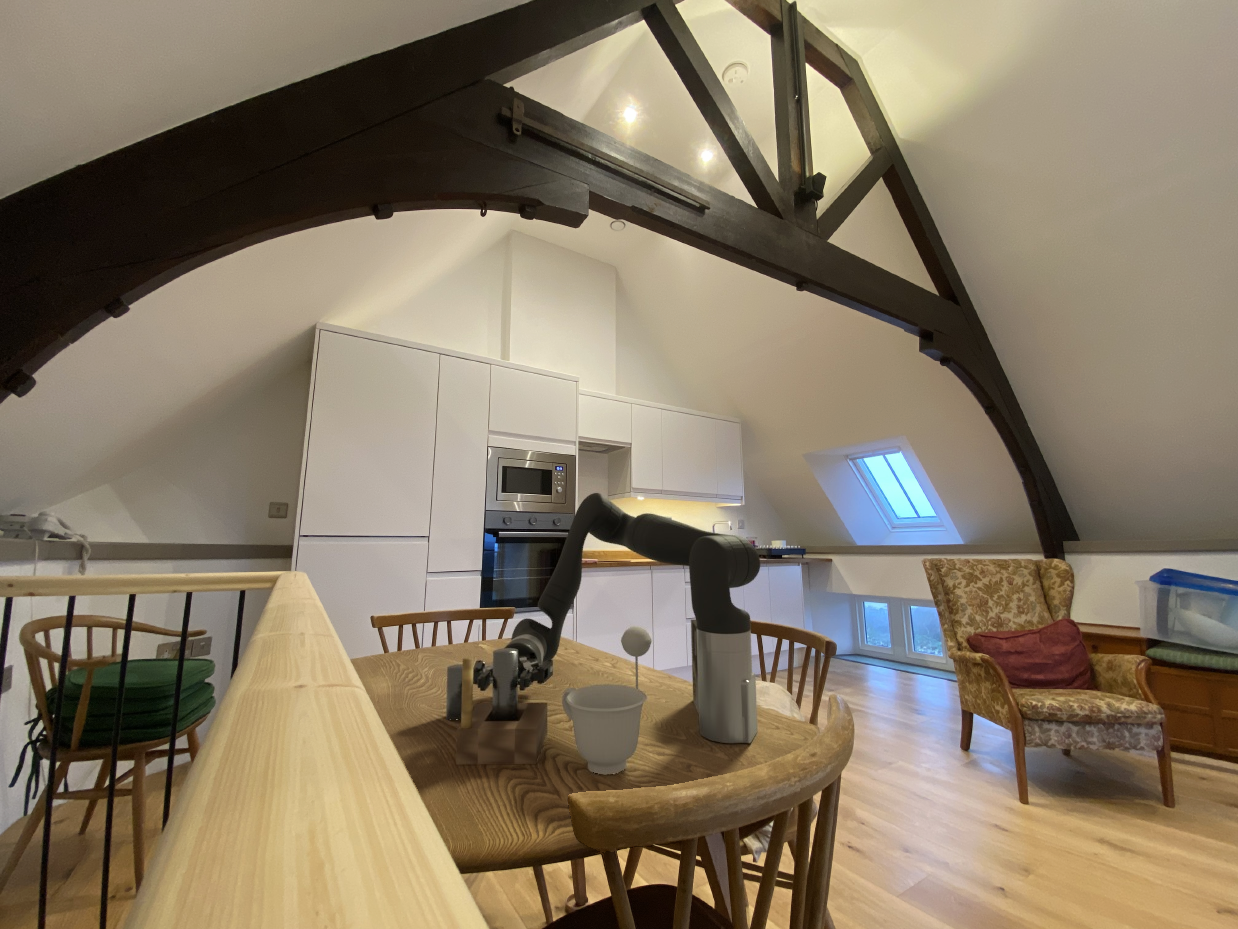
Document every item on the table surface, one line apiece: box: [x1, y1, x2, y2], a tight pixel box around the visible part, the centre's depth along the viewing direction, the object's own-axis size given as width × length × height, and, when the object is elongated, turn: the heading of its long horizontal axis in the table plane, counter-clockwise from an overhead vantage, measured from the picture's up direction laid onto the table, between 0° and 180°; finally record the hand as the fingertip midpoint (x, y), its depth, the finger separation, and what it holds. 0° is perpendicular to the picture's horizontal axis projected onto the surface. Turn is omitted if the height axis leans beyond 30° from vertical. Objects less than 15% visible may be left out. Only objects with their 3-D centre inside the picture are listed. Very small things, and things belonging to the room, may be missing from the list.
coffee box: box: [690, 619, 699, 715], centre depth 105 cm, size 9×6×16 cm
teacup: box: [561, 683, 648, 775], centre depth 80 cm, size 12×15×10 cm
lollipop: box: [620, 625, 653, 689], centre depth 107 cm, size 6×6×15 cm
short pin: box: [445, 663, 463, 721], centre depth 101 cm, size 4×4×9 cm
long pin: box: [491, 647, 519, 721], centre depth 87 cm, size 4×4×15 cm
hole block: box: [455, 657, 548, 765], centre depth 87 cm, size 12×12×15 cm
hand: (502, 684), depth 85 cm, fingers open, 5 cm apart
